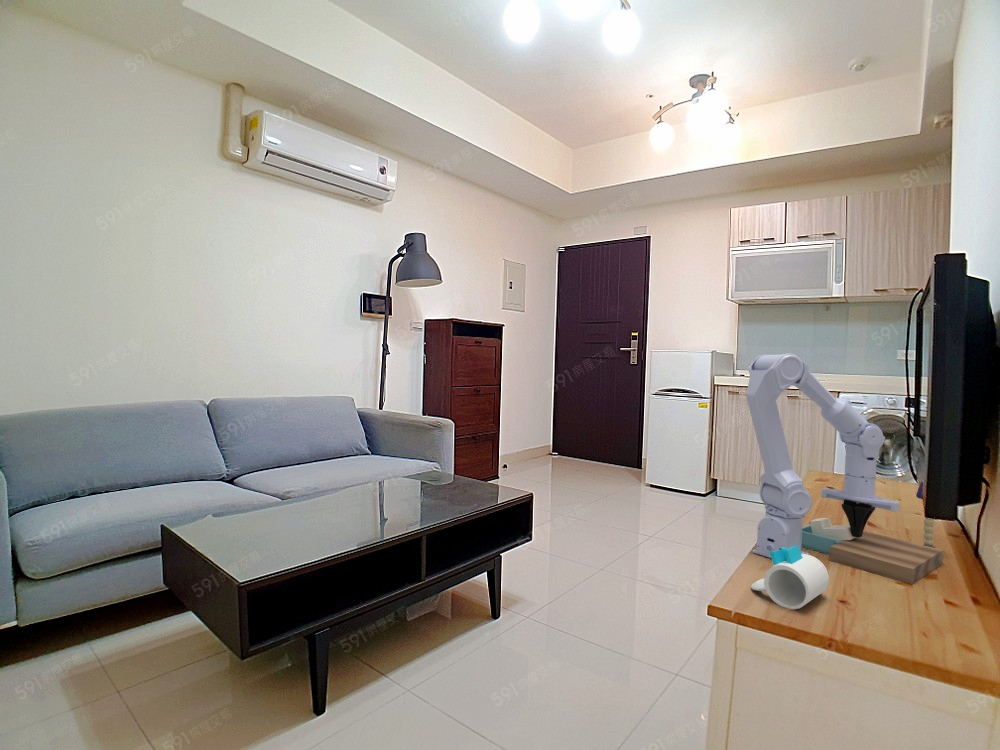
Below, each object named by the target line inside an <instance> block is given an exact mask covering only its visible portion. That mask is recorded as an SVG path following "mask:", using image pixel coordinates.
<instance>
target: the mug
mask: <svg viewBox="0 0 1000 750" xmlns="http://www.w3.org/2000/svg"><path fill="white" fill-rule="evenodd" d="M769 553H770V556H771V558H770V559H771V561H772V566H771V567H770V568H769V569H767V570H766V572H765V574H764V577H763V578H761V579H758V580H756V581H754V582H753V583H752V584H751V586H750V588H751V589H752V590H753V591H757V592H766V593H767V594H768V596H769V598H770V599H771V600H772V601H773V602H774V603H775V604H777V605H778V606H780V607H782V608H786V609H789V610H798V609H801V608H802V607H804V606H806V605H807V604H808V603H810V602H811V601H812V600H814V599H815V598H817V597H818V596H819V595H821V594H823V593H824V592H825V591H826V590H827V588H828V586H829V585H830V576H829V572H828V570H827V567H826V566H825V565H824V564H823V562H822V561H821V560H819V559H818V558H816V557H815V556H813V555H810V554H809V555H807V554H801V552H800V549H799V547H798V545H796V546H793V547H791V548H785V547H781V550H778V551H773V552H769Z"/></svg>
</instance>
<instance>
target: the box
mask: <svg viewBox="0 0 1000 750" xmlns="http://www.w3.org/2000/svg"><path fill="white" fill-rule="evenodd" d="M842 541H844V540H835V539H831V538H827V537H823V536H820V535H816V534H813V533H812V530H811V526H810V524H807V525H804V526H802V546H801V548H804V549H808V550H812V551H815V552H819V553H822V554H825V555H830V546H832V545H835V544H837V543H839V542H842Z"/></svg>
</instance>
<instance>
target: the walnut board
mask: <svg viewBox="0 0 1000 750" xmlns="http://www.w3.org/2000/svg"><path fill="white" fill-rule="evenodd" d="M828 555H829V554H828ZM828 561H830V562H834V563H837V564H839V565H840V564H841V565H844V566H847V567H850V568H854V569H857V570H860V571H861V570H862V571H865V572H869V573H871V574H874V575H875V574H876V575H878V576H882V577H885V578H888V579H892V580H895V581H898V582H902V583H905V584H909V585H914V584H915V583H916V582H918V581H919V580H922V579H923V578H924V577H926V576H927V575H928V574H930V573H932V572H933V571H934V570H936V569H938V568H939V567H940V566H942V565H943V564H944V549H940V548H937V547H935V548H933V547H929V546H924V544H920V543H915V542H911V541H908V540H904V539H903V540H902V539H898V538H895V537H891V536H887V535H881V534H878V533H874V532H873V533H872V532H869V531H863V534H862V536H861V537H859V538H858V537H856V538H854V539H851V540H844V541H842V542H839V543H837V544H835V545H832V546H830V555H829V559H828Z"/></svg>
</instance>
